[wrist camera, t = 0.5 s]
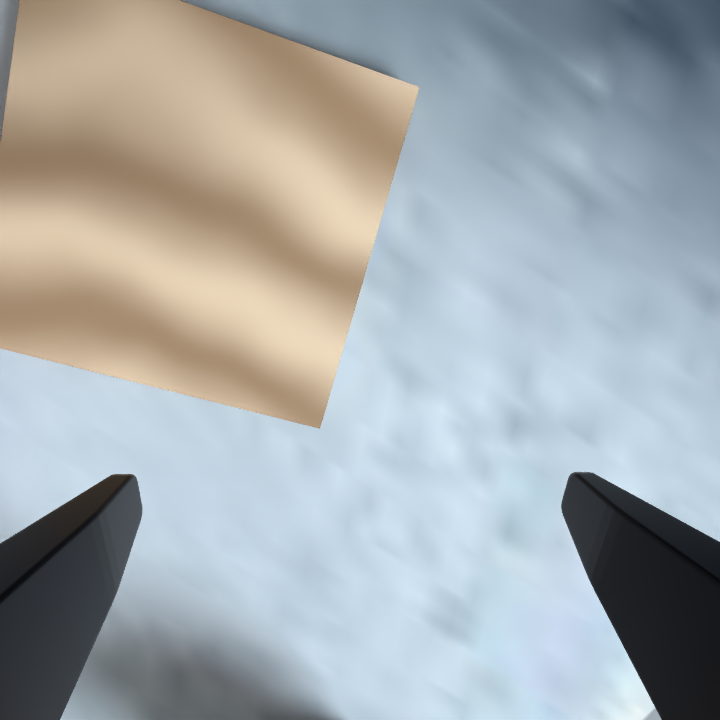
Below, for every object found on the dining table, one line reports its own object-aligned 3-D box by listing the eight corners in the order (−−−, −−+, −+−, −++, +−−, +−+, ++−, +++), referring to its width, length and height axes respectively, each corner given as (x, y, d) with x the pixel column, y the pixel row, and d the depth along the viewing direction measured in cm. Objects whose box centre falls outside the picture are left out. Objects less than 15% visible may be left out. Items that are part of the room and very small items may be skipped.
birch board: (320, 418, 24) (320, 428, 22) (-3, 336, 22) (-27, 341, 20) (412, 99, 21) (419, 87, 19) (50, -31, 19) (27, -56, 17)
